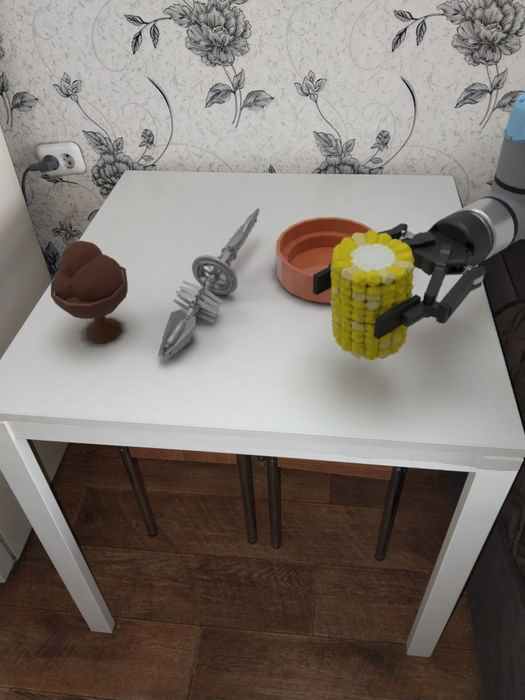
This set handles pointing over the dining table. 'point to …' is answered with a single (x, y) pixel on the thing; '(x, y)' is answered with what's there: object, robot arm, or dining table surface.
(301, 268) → the terracotta bowl
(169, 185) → the dining table surface
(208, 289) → the spaceship
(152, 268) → the dining table surface
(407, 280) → the food
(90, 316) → the ice cream bowl
